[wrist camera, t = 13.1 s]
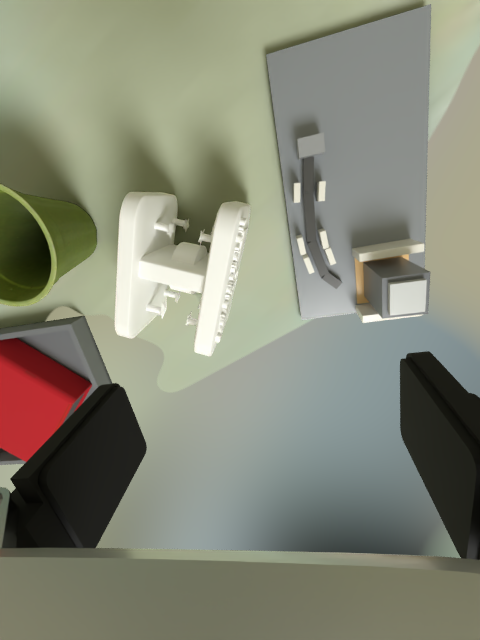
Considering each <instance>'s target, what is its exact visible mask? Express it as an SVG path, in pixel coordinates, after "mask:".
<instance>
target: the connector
mask: <svg viewBox="0 0 480 640" xmlns="http://www.w3.org/2000/svg"><path fill="white" fill-rule="evenodd" d="M363 271H364V296H365V298H366V299H367V300H368V301H369V303H370V304H371V305H372V306H373V308H374V309H375V310H376V311H377V313H378V314H379V315H380V316H381V318H382V319H384V318H394V317H403V316H412V315H421V314H428V305H429V304H428V303H429V285H430V272H429V271H427V270H425V269H424V268H422V267H420V266H418V265H416V264H414V263H412V262H410V261H408V260H407V259H405V258H403V257H397V258H390V259H383V260H376V261H369V262H363Z"/></svg>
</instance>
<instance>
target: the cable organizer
mask: <svg viewBox="0 0 480 640" xmlns="http://www.w3.org/2000/svg"><path fill="white" fill-rule="evenodd" d="M250 210H251V209H250V204H247V203H242V202H238V201H232V202H225V203H222V204H221V206H220V208H219V210H218V213H217V216H216V219H215V223H214V226H213V227H212V232H211V235H208V234H204V231H203V232H202V231H201V233H200V238H199V240H198V242H200V245H197V244H192V243H186V242H181V243H180V244H179V245H178V246H177V245H174V238H175V230H176V225H178V226H183V229H185V233H186V230H187V228H188V227H189V219H188V220H186V219H185V221H184V220H180V219H177V212H178V204H177V198H176V196H175V195H172V194H168V193H164V192H129V193H128V194H127V195H126V196H125V198H124V200H123V202H122V205H121V210H120V216H119V233H118V256H117V278H116V300H115V330H116V333H117V334H118V335H119V336H123V337H127V338H134V337H135V336H136V335H137V334H138V333H140V332H141V331H142V330H143V329H144V328H145V327H146V326H147V325H148V324H149V323H150V322H151V321H152V320H153V319H154V318H155V317H156V316H157V315H158V314H159V316H160V315H162V318H163V316H164V314H165V311H166V309H167V307H166V305H167V296H169V297H173V298H176V300H175V302H176V301H177V302H178V300H179V298H180V296H181V295H180V292H179V293H176V292H172V291H168V288H169V285H170V288H171V289H173V290H177V291H181V292H185V293H189V294H195V293H196V292H198V293H202V298H201V300H200V302H199V306H198V308H199V316H198V319H194V318H191V313H190V315H188V318H187V321H186V325H188V324H191V325H195V326H197V327H196V333H195V340H194V351H195V353H199V354H203V355H207V356H211V355H212V354H213V352H214V349H215V347H216V345H217V343H219V342H220V339H221V336H222V334H223V329H224V327H225V324H226V322H227V319H228V316H229V313H230V309H231V304H232V300H233V295H234V290H235V286H236V283H237V278H238V272H239V267H240V262H241V258H242V254H243V250H244V246H245V241H246V236H247V232H248V225H249V220H250ZM204 230H205V229H204ZM202 241H206V242H210V243H211V245H210V251H209V253H207V249H206V247H205V246H202V245H201V242H202ZM191 312H192V311H191ZM186 325H185V326H186Z"/></svg>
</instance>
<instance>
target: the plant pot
mask: <svg viewBox="0 0 480 640" xmlns="http://www.w3.org/2000/svg"><path fill="white" fill-rule="evenodd" d="M96 245H97V240H96V228H95V225H94V223H93V221H92V219H91V218H90V216H89V215H88V214H87V213H86V212H85V211H84V210H83V209H82V208H80V207H79V206H77V205H75V204H72V203H69V202H65V201H60V200H54V199H48V198H43V197H37V196H32V195H27V194H22V193H20V192H18V191H14V190H12V189H10V188H8V187H6V186H4V185H2V184H0V303H1V304H4V305H8V306H28V305H31V304H34V303H36V302H38V301H40V300H41V299H43V298H44V297H45V296H46V295H47V294H48V293H49V292H50V290H51V288H52V286H53V285H54V284H55V283H56V282H57V281H58V279H59V278H60V277H61V276H63V275H64V274H66V273H67V272H68V271H70V270H71V269H73V268H74V267H75V266H77V265H78V264H80V263H81V262H82V261H84V260H85V259H87V258H88V257H89V256H90V255H91V254H92V253H93V252H94V250H95V248H96Z"/></svg>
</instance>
